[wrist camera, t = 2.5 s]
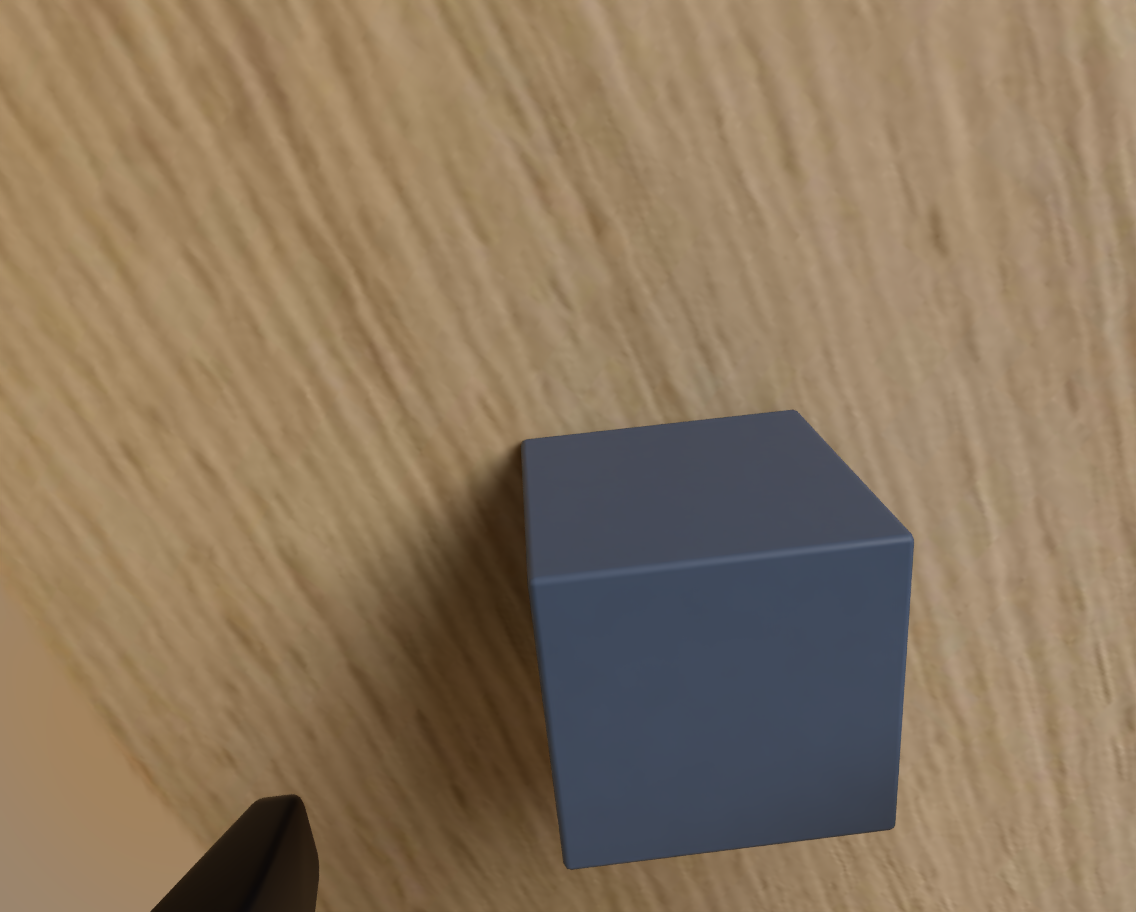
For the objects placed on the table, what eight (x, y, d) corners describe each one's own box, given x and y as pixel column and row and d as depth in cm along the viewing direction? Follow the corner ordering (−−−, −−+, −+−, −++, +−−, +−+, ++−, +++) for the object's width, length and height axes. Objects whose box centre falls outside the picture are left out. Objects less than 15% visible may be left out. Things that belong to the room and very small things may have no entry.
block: (548, 669, 14) (564, 874, 10) (519, 437, 12) (527, 580, 9) (794, 639, 14) (897, 831, 10) (796, 407, 13) (917, 535, 9)
